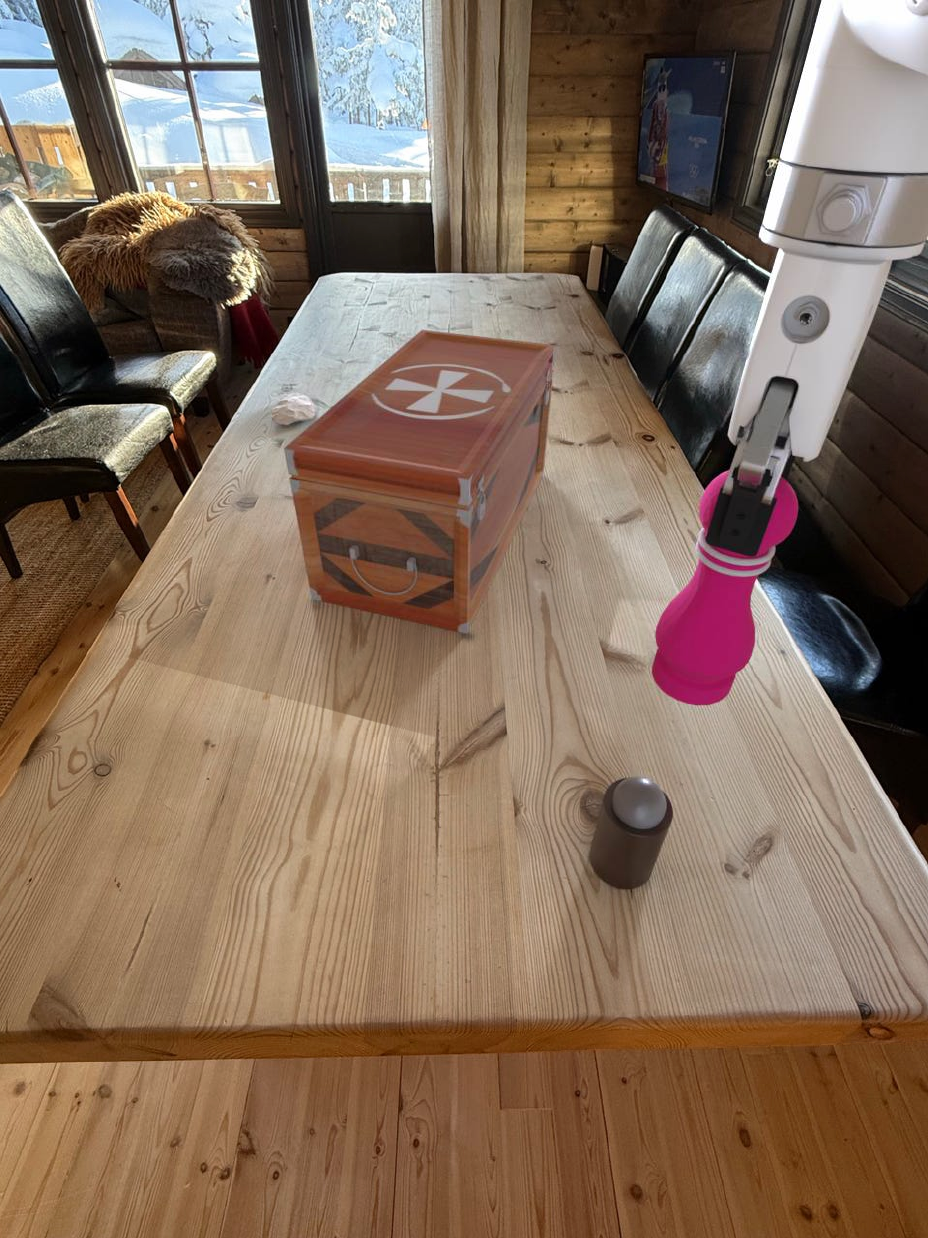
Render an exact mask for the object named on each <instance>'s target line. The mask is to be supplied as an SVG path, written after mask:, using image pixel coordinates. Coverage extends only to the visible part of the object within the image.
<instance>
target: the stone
mask: <svg viewBox="0 0 928 1238" xmlns="http://www.w3.org/2000/svg"><path fill="white" fill-rule="evenodd" d="M316 413H317V412H316V405H315V404H314V401H313V400H312V399H311V398H310V397H309V396H308V395H306V394H302V393H300V392H292V393H289V394H286V395H285V396H283V397H282V398H280V399H279V400H278V401H277V402H276V404H275V406H272V407H271V412H270V415H271V420H272V422H273V423H274V424H276V425H285V426H289V425H291V424H295V423H298V422H304V421H305V422H306V421H310V420H313V419H314V418H315V417H316Z"/></svg>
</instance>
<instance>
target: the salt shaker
mask: <svg viewBox="0 0 928 1238" xmlns="http://www.w3.org/2000/svg"><path fill="white" fill-rule="evenodd" d="M673 818H674V808H673V805H672V802H671V800H670V798H669V797H668V795H667V794H666V793H665V791H664V790H663V789H662V788H661V787H660V785H658V783H657V782H655V781H654V780H652V779H650V778H648V777H645V776H639V775H635V776H629V777H623V778H620V779H617V780H615V781H614V782H612V783H611V784H610V785H609V786H608V787H607V788H606V790H605V791H604V795H603V799H602V802H601V806H600V810H599V814H598V818H597V821H596V825H595V830H594V834H593V836H592V841H591V845H590V849H589V862H590V865H591V868H592V870H593V872H594V873H595V874H596V876H597V877H598V878H599V879H600V880H601V881H602V882H604V883H605V884H606V885H608V886H610V887H613V888H615V889H619V890H625V891H628V890H635V889H637V888H640V887H642V886H644V884H646V883H647V882H648V881H649V880H650V877H651V876H652V873H653V871H654V868H655V865H656V863H657V861H658V857H659V855H660V853H661V851H662V847H663V845H664V844H665V843H664V842H665V840H666V838H667V835H668V832H669V829H670V828H671V825H672V822H673Z"/></svg>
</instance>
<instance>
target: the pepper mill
mask: <svg viewBox="0 0 928 1238" xmlns="http://www.w3.org/2000/svg"><path fill="white" fill-rule="evenodd" d="M776 460H777V458H773V457H770V459H769V462H768V466H767V468H766V469H770V470H771V474H772V471H773V468H774V465H775V463H776ZM729 470H730V469H728V470H726V471H723V472H721V473H720V474H719V475H717V476H716V477H715V478H713V479H712V480H711V481H710V483H709V484H708V485H707V487H705V489H704V491H703V493H702V496H701V498H700V501H699V505H698V516H699V518H698V519H699V521H700V524H701V526H702V527H701V529H700V530H699V532H698V536H697V538H698V539H697V541H696V542H695V547H694V551H695V554H696V556H697V558H698V562H697V566H696V568H695V571H694V574H693V575H692V577H691V579H690V580H689V582H688V583H687V584H686V585H685V586H684V588H683V589H682V590H681V591H680V592H679V593H677V594H676V595H675V597H674V598H673V599H672V600H671V601H670V602H669V603H668V604H667V606H665V607H666V608H664V610H663V612H662V613H661V615H660V617H659V619H658V622H657V624H656V627H655V634H654V638H655V644H656V647H657V650H656V652H655V655H654V659H653V662H652V665H651V675H652V678H653V681H654V682H655V684H656V685H657V686H658V688H659V689H660V690H661V692H663V693H664V694H665V695H667V696H668V697H670V698H672V699H673V700H676V701H677V702H680V703H684V704H686V705H692V706H710V705H714V704H718V703H720V702H721V701H723V700H724V699H725V698H726V697H727V696H728V695H729V693H730V692H731V690H732V687H733V684H734V682H735V680H736V676H737V673H739V672H741V671H742V670H744V668H745V667H746V666H747V665H748V664H749V662H750V660H751V658H752V656H753V653H754V648H755V645H756V625H755V620H754V615H753V611H752V605H751V604H752V602H751V601H752V594H753V590H754V587H755V584H756V582H757V579H758V578H759V576H760V575H761V574H763V573H764V572H766V571H767V570H768V569H769V568H770V566H771V563H772V558H773V557H774V556H775V553H776V546H778V545H779V544H780V543H782V542H783V541H785V539H787V537H789V535H790V534H791V533H792V531H793V529H794V527H795V525H796V522H797V519H798V515H799V514H798V513H799V500H798V498H797V494H796V492H795V490H794V488H793V487H792V485H791V484H790V483H789V481H786V480H785V479H784V478H782V477H781V478H780V481H779V483H778V486H777V489H776V491H775V494H774V497H773V498H777V499H778V500H777V502H776V505H775V508H774V510H773V513H772V516H771V519H770V521H769V524H768V527H767V529H766V532H765V535H764V537H763V540H762V543H761V546H760V548H759V551H758V553H757V555H756V556H754V557H749V556H745V555H742V554H738V553H735V552H732V551H728V550H725V549H721V548H718V547H714V546H711V545H708V544H707V543H706V540H705V539H706V535H707V532H708V529H709V525H710V522H711V519H712V515H713V512H714V509H715V505H716V502H717V499H718V495H719V492H720V489H721V487H722V485H725V482H726V479H727V476H728V473H729ZM770 476H771V475H770Z"/></svg>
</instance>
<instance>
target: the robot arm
mask: <svg viewBox="0 0 928 1238" xmlns="http://www.w3.org/2000/svg"><path fill="white" fill-rule="evenodd" d="M812 32H813V33H812V36H811V40H810V43H809V47H808V50H807V54H806V58H805V62H804V66H803V70H802V73H801V77H800V81H799V84H798V88H797V91H796V95H795V99H794V103H793V106H792V111H791V114H790V118H789V122H788V125H787V129H786V133H785V137H784V140H783V144H782V148H781V152H780V155H779V159H778V164H777V167H776V170H775V175H774V179H773V182H772V185H771V189H770V193H769V197H768V201H767V204H766V208H765V213H764V216H763V219H762V223H761V226H760V230H759V233H758V239H760V240H761V242H763V243H764V244H766V245H768V246H771V247H774V248H777V249H778V251H777V254H776V257H775V261H774V263H773V267H772V271H771V273H770V277H769V280H768V284H767V287H766V290H765V293H764V297H763V301H762V304H761V307H760V311H759V314H758V318H757V321H756V325H755V328H754V331H753V335H752V339H751V342H750V345H749V348H748V354H747V356H746V360H745V363H744V368H743V370H742V375H741V378H740V381H739V385H738V389H737V393H736V397H735V402H734V405H733V409H732V414H731V418H730V422H729V425H728V426H729V427H728V431H727V437H728V439H729V441H730V442H731V443H732V445H734V446H737V447H736V450H735V453H734V456H733V459H732V462H731V464H730V467H729V469H728V470H729V473H728V476H727V479H726V482H725V485H722V487H721V489H720V492H719V495H718V499H717V502H716V505H715V509H714V512H713V515H712V519H711V522H710V525H709V529H708V532H707V535H706V539H705V540H706V543H707V544H708V545H711V546H714V547H718V548H721V549H725V550H728V551H732V552H735V553H738V554H742V555H745V556H749V557H754V556H756V555H757V553H758V551H759V548H760V546H761V543H762V540H763V537H764V535H765V532H766V529H767V527H768V524H769V521H770V519H771V516H772V513H773V510H774V508H775V505H776V502H777V500H778V499H777V498H773V497H774V494H775V491H776V489H777V486H778V483H779V481H780V478H781V477H782V478H784V479H785V480H786V481H787V480H788V478H789V475H790V473H791V470H792V467H793V465H794V463H795V459H796V457H799V458H803V459H802V462H805V463H808V462H811V461H812V460H814V459H816V458H818V457H819V455H820V452H821V450H822V448H823V445H824V443H825V440H826V438H827V436H828V433H829V430H830V427H831V425H832V424H833V420H834V418H835V415H836V413H837V410H838V408H839V405H840V404H841V400H842V398H843V396H844V393H845V390H846V388H847V385H848V383H849V380H850V378H851V375H852V373H853V371H854V368H855V365H856V364H857V360H858V358H859V355H860V353H861V350H862V348H863V346H864V344H865V343H864V342H865V341H866V338H867V335H868V333H869V330H870V328H871V325H872V322H873V320H874V317H875V315H876V311H877V309H878V306H879V303H880V300H881V298H882V294H883V292H884V289H885V286H886V282H887V280H888V276H889V274H890V270H891V267H892V263H893V261H898V260H899V261H900V260H906V259H911V258H912V257H917V256H919V255H920V254H922V251H923V249H924V246H925V244H926V243H927V242H926V241H927V239H928V0H821V3H820V6H819V9H818V14H817V16H816V21H815V23H814V28H813V31H812ZM770 457H773V458H777V460H776V463H775V465H774V468H773V471H772V474H771V470H770V469H766V468H767V466H768V462H769V459H770ZM770 475H771V476H770ZM787 482H788V481H787Z"/></svg>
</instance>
